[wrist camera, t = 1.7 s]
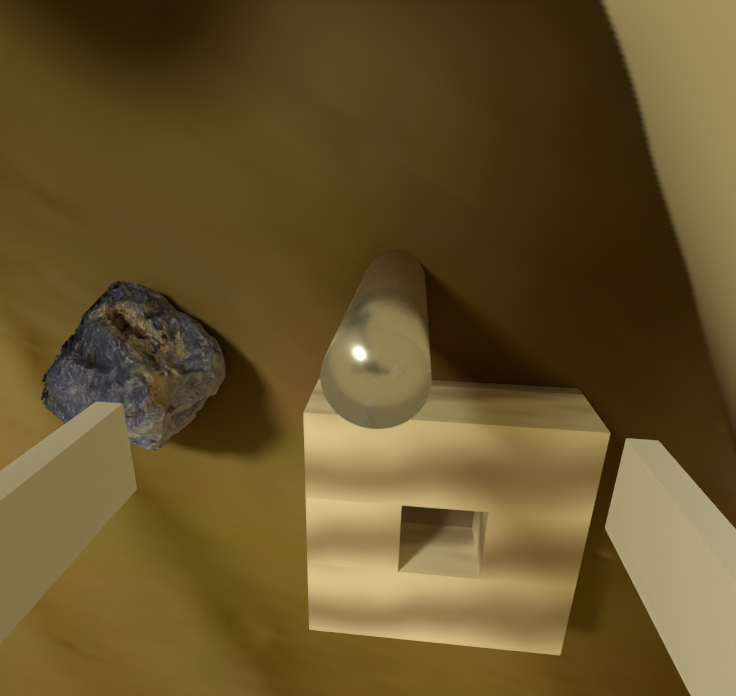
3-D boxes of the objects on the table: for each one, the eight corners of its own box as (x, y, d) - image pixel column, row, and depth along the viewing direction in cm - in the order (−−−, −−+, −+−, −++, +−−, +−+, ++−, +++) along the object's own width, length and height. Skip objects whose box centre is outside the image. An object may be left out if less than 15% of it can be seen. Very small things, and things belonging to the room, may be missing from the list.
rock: (87, 253, 31) (47, 371, 24) (239, 307, 37) (240, 416, 30) (46, 358, 37) (5, 478, 30) (184, 392, 42) (174, 499, 36)
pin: (365, 249, 32) (319, 324, 17) (427, 251, 32) (435, 330, 17) (364, 308, 33) (320, 425, 18) (423, 311, 33) (427, 432, 18)
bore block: (321, 373, 35) (303, 412, 30) (578, 388, 34) (610, 432, 28) (323, 567, 42) (309, 629, 36) (540, 587, 40) (560, 655, 35)
